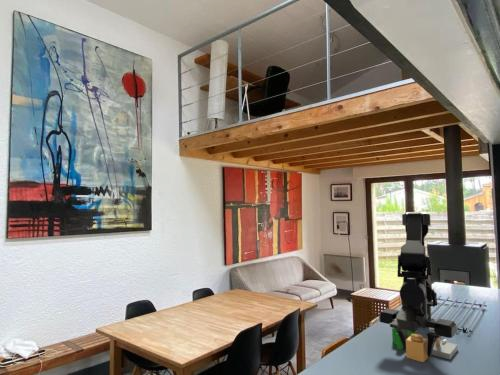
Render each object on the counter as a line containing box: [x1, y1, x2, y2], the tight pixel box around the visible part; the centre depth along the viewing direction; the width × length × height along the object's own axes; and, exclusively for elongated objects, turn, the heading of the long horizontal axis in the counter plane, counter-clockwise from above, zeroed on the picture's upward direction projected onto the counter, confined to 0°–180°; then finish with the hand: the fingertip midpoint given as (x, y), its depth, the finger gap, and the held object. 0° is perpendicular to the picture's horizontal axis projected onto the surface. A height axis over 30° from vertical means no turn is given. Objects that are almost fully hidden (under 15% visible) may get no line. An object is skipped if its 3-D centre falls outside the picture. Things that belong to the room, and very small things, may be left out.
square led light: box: [405, 333, 429, 363], centre depth 94 cm, size 4×4×6 cm
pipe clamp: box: [391, 327, 417, 350], centre depth 104 cm, size 11×4×5 cm, turn 132°
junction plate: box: [426, 337, 459, 360], centre depth 98 cm, size 9×8×5 cm
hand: (417, 353), depth 94 cm, fingers open, 6 cm apart
